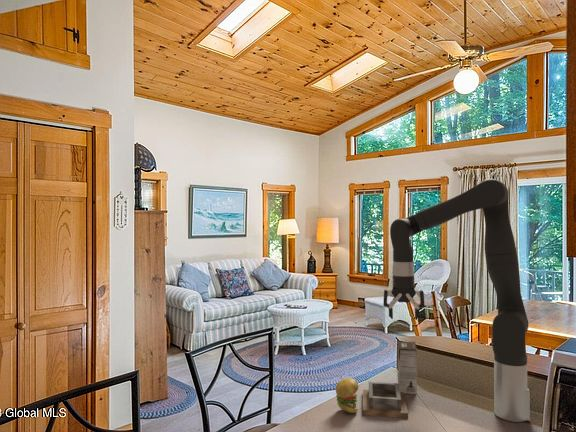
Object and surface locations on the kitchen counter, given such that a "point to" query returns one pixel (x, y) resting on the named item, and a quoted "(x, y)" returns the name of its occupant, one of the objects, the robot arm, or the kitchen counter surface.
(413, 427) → the kitchen counter surface
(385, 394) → the socket stand
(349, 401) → the hamburger
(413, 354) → the coffee box
